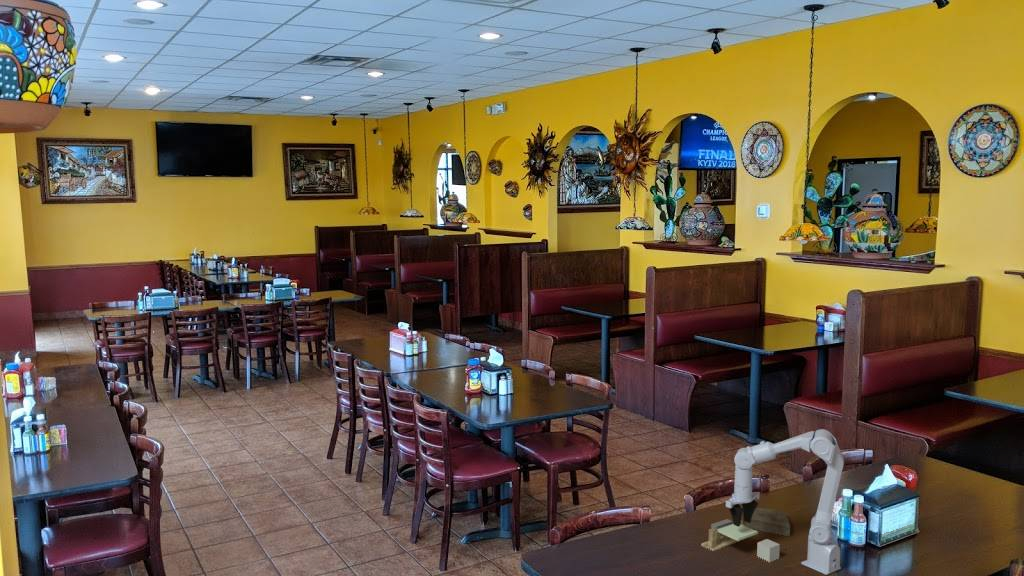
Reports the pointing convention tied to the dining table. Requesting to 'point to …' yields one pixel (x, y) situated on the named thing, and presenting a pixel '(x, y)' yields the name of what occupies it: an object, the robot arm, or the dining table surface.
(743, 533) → the trapdoor
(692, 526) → the dining table surface
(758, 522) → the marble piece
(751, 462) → the robot arm
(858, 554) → the dining table surface
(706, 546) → the frame
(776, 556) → the white cube
